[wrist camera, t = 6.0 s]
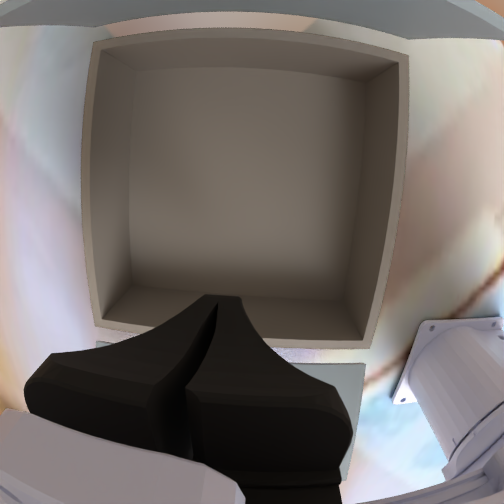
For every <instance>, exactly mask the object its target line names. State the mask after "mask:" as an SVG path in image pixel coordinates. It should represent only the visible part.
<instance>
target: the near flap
mask: <svg viewBox="0 0 504 504" xmlns="http://www.w3.org/2000/svg"><path fill="white" fill-rule="evenodd" d="M213 11H214V12H216V11H243V12H267V13H280V14H291V15H299V16H307V17H314V18H320V19H327V20H332V21H338V22H343V23H348V24H353V25H357V26H362V27H366V28H370V29H374V30H378V31H382V32H385V33H389V34H392V35H396V36H399V37H402V38H405V39H408V40H410V39H427V38H477V39H493V40H504V18H503V17H502V16H500V15H498V14H497V13H495V12H494V11H492V10H490V9H489V8H487V7H485V6H484V5H482V4H480V3H478V2H476V1H475V0H8V1H6V2H4V3H3V4H1V5H0V27H10V26H28V25H66V26H85V27H97V26H102V25H106V24H111V23H116V22H120V21H126V20H131V19H138V18H144V17H151V16H159V15H168V14H178V13H191V12H213Z"/></svg>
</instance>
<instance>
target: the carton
mask: <svg viewBox="0 0 504 504" xmlns="http://www.w3.org/2000/svg"><path fill="white" fill-rule="evenodd" d="M408 121H409V56H408V55H406V54H402V53H399V52H396V51H392V50H388V49H385V48H381V47H377V46H373V45H369V44H365V43H360V42H356V41H351V40H346V39H341V38H335V37H330V36H324V35H317V34H310V33H302V32H294V31H284V30H272V29H255V28H194V29H179V30H167V31H157V32H149V33H141V34H134V35H128V36H122V37H116V38H111V39H106V40H101V41H96V42H93V48H92V53H91V59H90V65H89V72H88V79H87V86H86V95H85V104H84V115H83V129H82V148H81V207H82V227H83V241H84V252H85V262H86V271H87V279H88V286H89V293H90V300H91V306H92V312H93V318H94V323H95V326H97V327H102V328H108V329H113V330H119V331H125V332H131V333H138V334H143V333H145V332H147V331H149V330H151V329H153V328H155V327H157V326H159V325H161V324H163V323H164V322H166V321H167V320H169V319H171V318H172V317H174V316H175V315H177V314H179V313H180V312H181V311H183V310H184V309H186V308H187V307H188V306H190V305H191V304H192V303H194V302H195V301H196V300H198V299H199V298H200V297H202V296H203V295H204V294H211V295H225V296H239V297H240V298H241V299H242V304H243V307H244V309H245V312H246V314H247V316H248V318H249V319H250V321H251V323H252V325H253V326H254V328H255V329H256V331H257V332H258V333H259V335H260V336H261V337H262V339H263V340H264V341H265V342H266V343H267V344H268V346H269V347H278V348H303V349H370V346H371V343H372V339H373V336H374V332H375V328H376V325H377V321H378V317H379V314H380V310H381V306H382V302H383V298H384V293H385V289H386V285H387V280H388V276H389V271H390V266H391V261H392V256H393V251H394V245H395V240H396V234H397V228H398V222H399V215H400V208H401V201H402V193H403V185H404V176H405V166H406V154H407V140H408Z"/></svg>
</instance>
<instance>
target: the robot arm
mask: <svg viewBox="0 0 504 504" xmlns="http://www.w3.org/2000/svg"><path fill="white" fill-rule="evenodd" d="M503 324H504V319H503V318H502V317H489V318H472V319H450V320H426V321H423V322H422V323H421V324H420V326H419V329H418V332H417V335H416V338H415V341H414V344H413V347H412V350H411V352H410V355H409V358H408V360H407V363H406V366H405V368H404V371H403V373H402V376H401V378H400V380H399V383H398V385H397V388H396V390H395V392H394V395H393V397H392V403H393V404H404V403H412V402H418V404H419V405H420V407H421V409H422V411H423V413H424V415H425V417H426V418H427V420H428V422H429V424H430V426H431V428H432V430H433V432H434V434H435V436H436V438H437V440H438V442H439V444H440V446H441V448H442V450H443V452H444V454H445V456H446V458H447V460H448V462H449V463H448V464H447V465H446V466H445V467H444V468H442V473H443V475H444V477H445V479H446V481H444V482H443V483H440V484H437V485H434V486H431V487H428V488H424V489H421V490H417V491H414V492H410V493H406V494H402V495H398V496H394V497H389V498H385V499H380V500H375V501H369V502H364V503H357V504H504V331H502V330H501V329H502V327H503ZM431 326H432V328H430V327H431ZM24 397H25V402H26V404H27V407H28V409H29V411H30V413H28V412H23V411H19V410H14V409H8V408H6V409H5V410H4V411H3V413H2V414H1V415H0V504H342V500H341V495H340V489H339V484H340V483H341V481H342V477H341V472H340V465H341V463H342V461H343V459H344V457H345V455H346V453H347V451H348V449H349V446H350V444H351V441H352V437H353V428H352V424H351V420H350V417H349V414H348V411H347V409H346V407H345V405H344V403H343V401H342V399H341V397H340V395H339V393H338V391H337V389H336V387H335V386H333V385H331V384H328V383H326V382H324V381H321V380H319V379H317V378H314V377H312V376H310V375H308V374H306V373H305V372H303V371H301V370H299V369H298V368H296V367H294V366H293V365H291V364H290V363H288V362H287V361H286V360H284V359H283V358H282V357H281V356H279V355H278V354H277V353H276V352H274V351H273V350H272V349H271V348H270V347H269V346H268V344H267V343H266V342H265V341H264V340H263V339H262V337H261V336H260V335H259V333H258V332H257V331H256V329H255V328H254V326H253V325H252V323H251V321H250V319H249V318H248V316H247V314H246V312H245V309H244V307H243V304H242V299H241V298H240V297H239V296H225V295H211V294H204V295H203V296H202V297H200V298H199V299H198V300H196V301H195V302H194V303H192V304H191V305H190V306H188V307H187V308H186V309H184V310H183V311H181V312H180V313H179V314H177V315H175V316H174V317H172V318H171V319H169V320H167V321H166V322H164V323H163V324H161V325H159V326H157V327H155V328H153V329H151V330H149V331H147V332H145V333H143V334H140V335H138V336H135V337H132V338H129V339H127V340H124V341H121V342H118V343H115V344H111V345H107V346H103V347H98V348H94V349H88V350H82V351H73V352H63V353H51V354H50V356H49V357H48V358H47V359H46V360H45V361H44V362H43V363H42V364H41V366H40V367H39V368H38V369H37V370H36V371H35V372H34V374H33V375H32V376H31V377H30V378H29V379H28V381H27V382H26V384H25V387H24ZM402 398H403V399H402Z"/></svg>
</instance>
